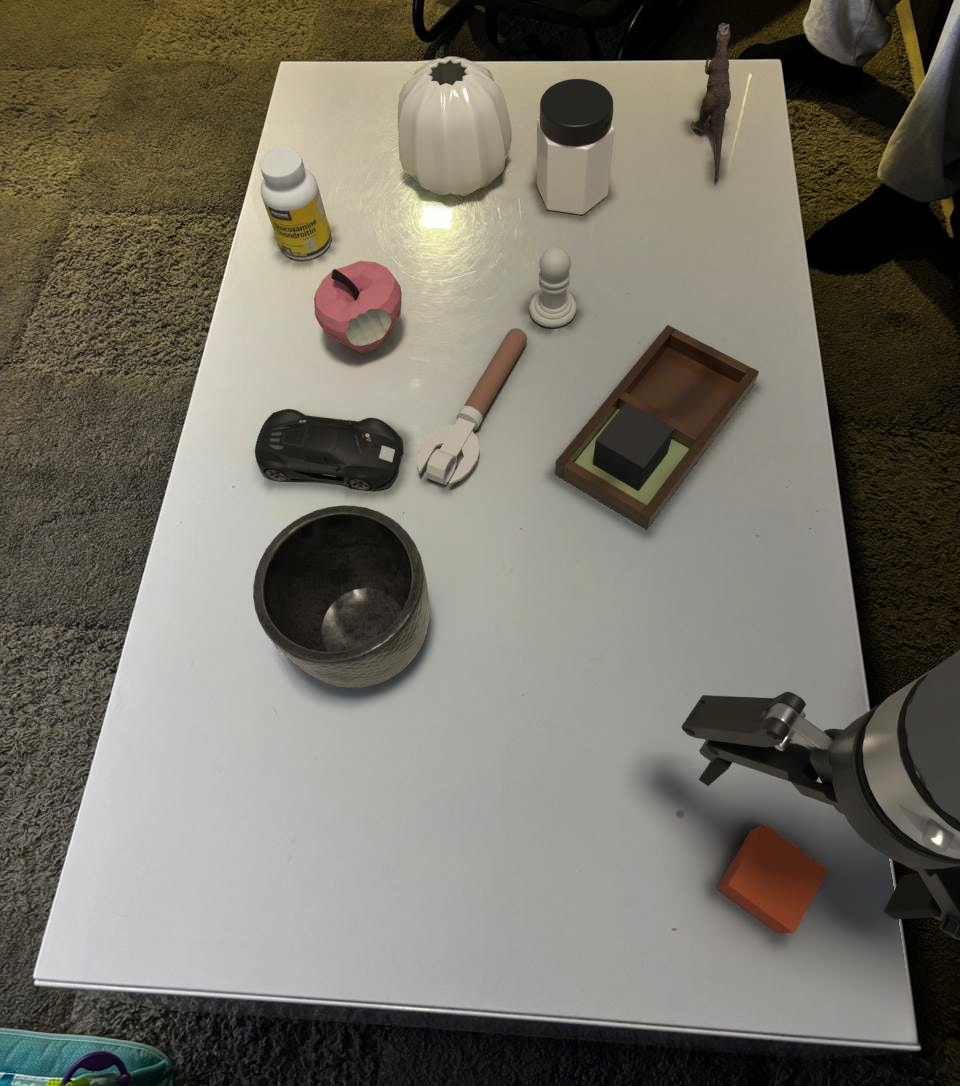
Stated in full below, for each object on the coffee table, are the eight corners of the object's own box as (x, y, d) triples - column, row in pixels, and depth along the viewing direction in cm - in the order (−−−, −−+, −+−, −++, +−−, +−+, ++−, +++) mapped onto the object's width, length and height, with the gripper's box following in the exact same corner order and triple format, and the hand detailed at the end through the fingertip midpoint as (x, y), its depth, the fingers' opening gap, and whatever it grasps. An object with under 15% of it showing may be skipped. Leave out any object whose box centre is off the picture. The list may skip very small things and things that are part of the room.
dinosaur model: (733, 13, 96) (757, 105, 90) (717, 101, 106) (738, 188, 101) (698, 18, 96) (720, 110, 90) (686, 105, 107) (705, 192, 101)
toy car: (394, 494, 84) (387, 472, 80) (254, 478, 86) (241, 457, 82) (408, 433, 87) (402, 410, 83) (273, 420, 89) (261, 396, 85)
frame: (753, 386, 87) (759, 371, 85) (647, 530, 81) (650, 517, 78) (664, 340, 91) (667, 324, 88) (554, 474, 84) (555, 461, 82)
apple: (336, 379, 91) (315, 318, 82) (318, 322, 95) (296, 257, 86) (419, 354, 92) (406, 291, 83) (398, 299, 95) (384, 232, 86)
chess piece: (585, 315, 93) (590, 255, 85) (546, 336, 92) (547, 278, 84) (558, 286, 95) (561, 225, 87) (520, 306, 94) (518, 246, 86)
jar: (615, 208, 100) (625, 119, 89) (550, 223, 99) (553, 135, 88) (592, 159, 104) (599, 68, 93) (530, 173, 103) (530, 84, 92)
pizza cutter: (494, 336, 93) (494, 317, 90) (543, 352, 92) (544, 333, 89) (410, 475, 85) (406, 459, 82) (462, 496, 83) (460, 480, 81)
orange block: (811, 873, 66) (829, 869, 62) (777, 933, 65) (794, 933, 60) (750, 830, 68) (763, 823, 64) (716, 888, 66) (727, 884, 62)
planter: (458, 585, 79) (445, 524, 67) (412, 724, 73) (389, 683, 62) (325, 551, 82) (290, 487, 70) (271, 683, 76) (223, 637, 64)
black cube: (667, 453, 83) (674, 428, 79) (638, 491, 82) (643, 468, 77) (621, 427, 85) (626, 401, 81) (592, 464, 83) (595, 440, 79)
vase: (445, 227, 100) (433, 129, 88) (383, 166, 105) (363, 66, 93) (534, 175, 103) (534, 74, 91) (469, 119, 108) (461, 16, 96)
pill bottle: (271, 257, 100) (241, 177, 89) (292, 219, 102) (265, 137, 92) (321, 266, 98) (295, 186, 88) (340, 228, 101) (318, 146, 90)
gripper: (656, 672, 39) (615, 760, 58) (1221, 1057, 31) (957, 1012, 50) (738, 555, 41) (672, 677, 60) (1282, 886, 33) (1008, 906, 52)
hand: (802, 829), depth 55 cm, fingers open, 13 cm apart
